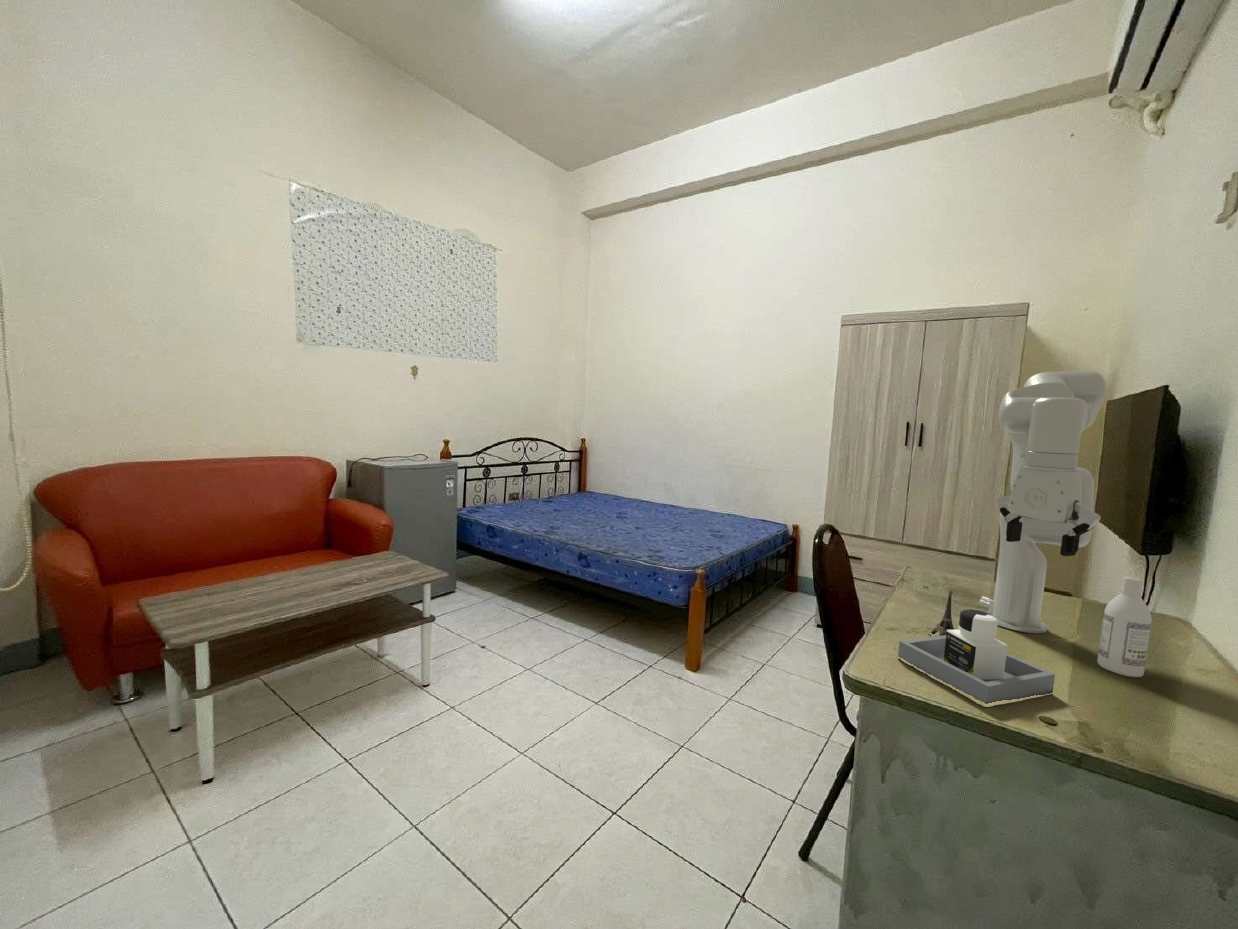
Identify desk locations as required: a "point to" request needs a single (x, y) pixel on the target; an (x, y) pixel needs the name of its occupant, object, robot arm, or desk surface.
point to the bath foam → (1125, 631)
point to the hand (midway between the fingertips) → (1039, 548)
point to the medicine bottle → (976, 646)
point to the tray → (1014, 685)
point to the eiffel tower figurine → (945, 619)
